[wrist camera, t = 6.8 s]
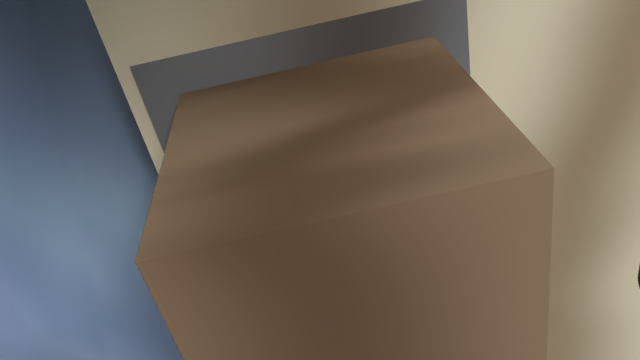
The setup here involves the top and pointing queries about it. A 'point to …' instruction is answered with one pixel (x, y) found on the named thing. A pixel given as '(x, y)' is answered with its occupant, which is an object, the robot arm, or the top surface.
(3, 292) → the top surface
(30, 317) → the top surface
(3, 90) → the top surface
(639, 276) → the robot arm
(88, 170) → the top surface
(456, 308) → the walnut block
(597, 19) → the board
